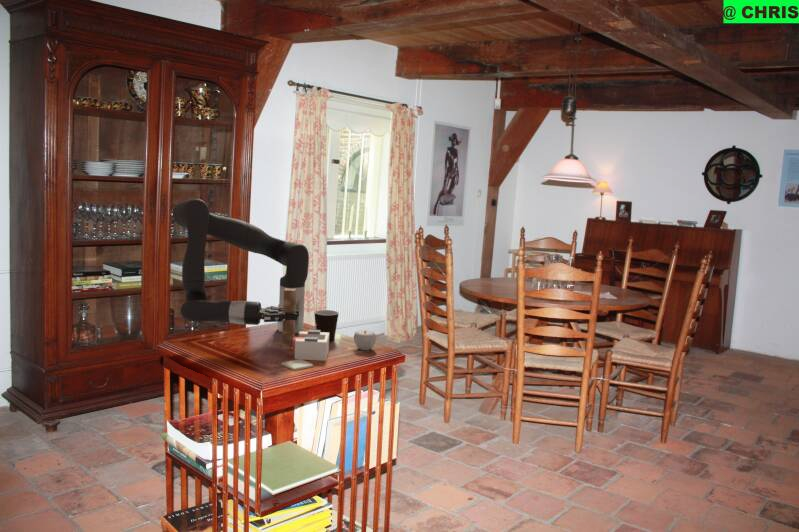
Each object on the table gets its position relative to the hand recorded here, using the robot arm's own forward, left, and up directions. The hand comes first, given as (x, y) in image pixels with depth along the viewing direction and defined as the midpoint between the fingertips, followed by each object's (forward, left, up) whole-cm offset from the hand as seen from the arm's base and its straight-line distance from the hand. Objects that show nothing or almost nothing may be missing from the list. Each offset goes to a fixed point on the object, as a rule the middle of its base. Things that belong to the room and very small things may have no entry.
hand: (297, 315), depth 213 cm
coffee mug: (-11, +20, -13) cm, 26 cm away
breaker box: (+3, +4, -13) cm, 14 cm away
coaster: (+11, -7, -13) cm, 19 cm away
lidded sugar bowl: (+7, +23, -13) cm, 27 cm away
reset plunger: (+1, +1, -11) cm, 11 cm away
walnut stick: (-2, -2, -10) cm, 11 cm away
